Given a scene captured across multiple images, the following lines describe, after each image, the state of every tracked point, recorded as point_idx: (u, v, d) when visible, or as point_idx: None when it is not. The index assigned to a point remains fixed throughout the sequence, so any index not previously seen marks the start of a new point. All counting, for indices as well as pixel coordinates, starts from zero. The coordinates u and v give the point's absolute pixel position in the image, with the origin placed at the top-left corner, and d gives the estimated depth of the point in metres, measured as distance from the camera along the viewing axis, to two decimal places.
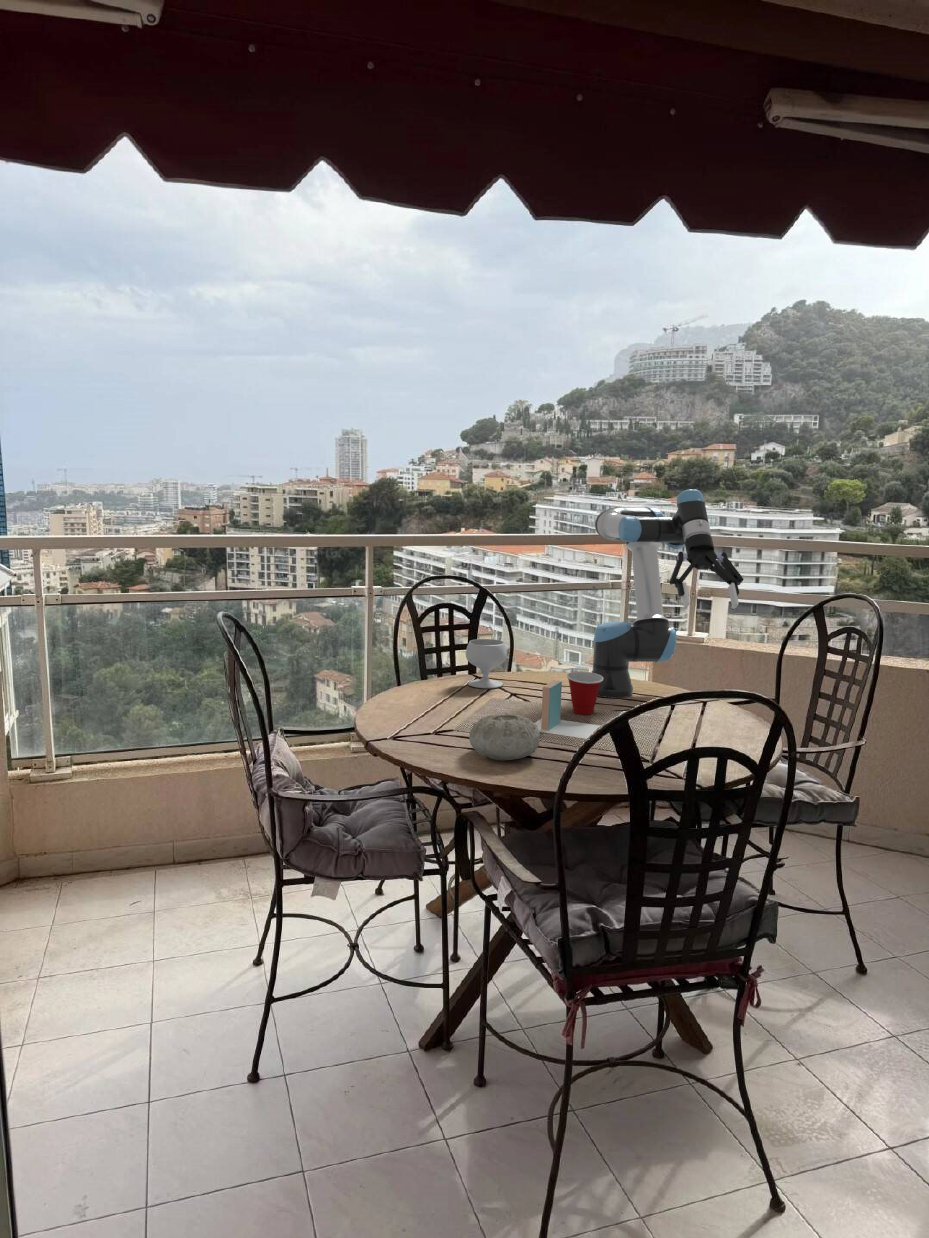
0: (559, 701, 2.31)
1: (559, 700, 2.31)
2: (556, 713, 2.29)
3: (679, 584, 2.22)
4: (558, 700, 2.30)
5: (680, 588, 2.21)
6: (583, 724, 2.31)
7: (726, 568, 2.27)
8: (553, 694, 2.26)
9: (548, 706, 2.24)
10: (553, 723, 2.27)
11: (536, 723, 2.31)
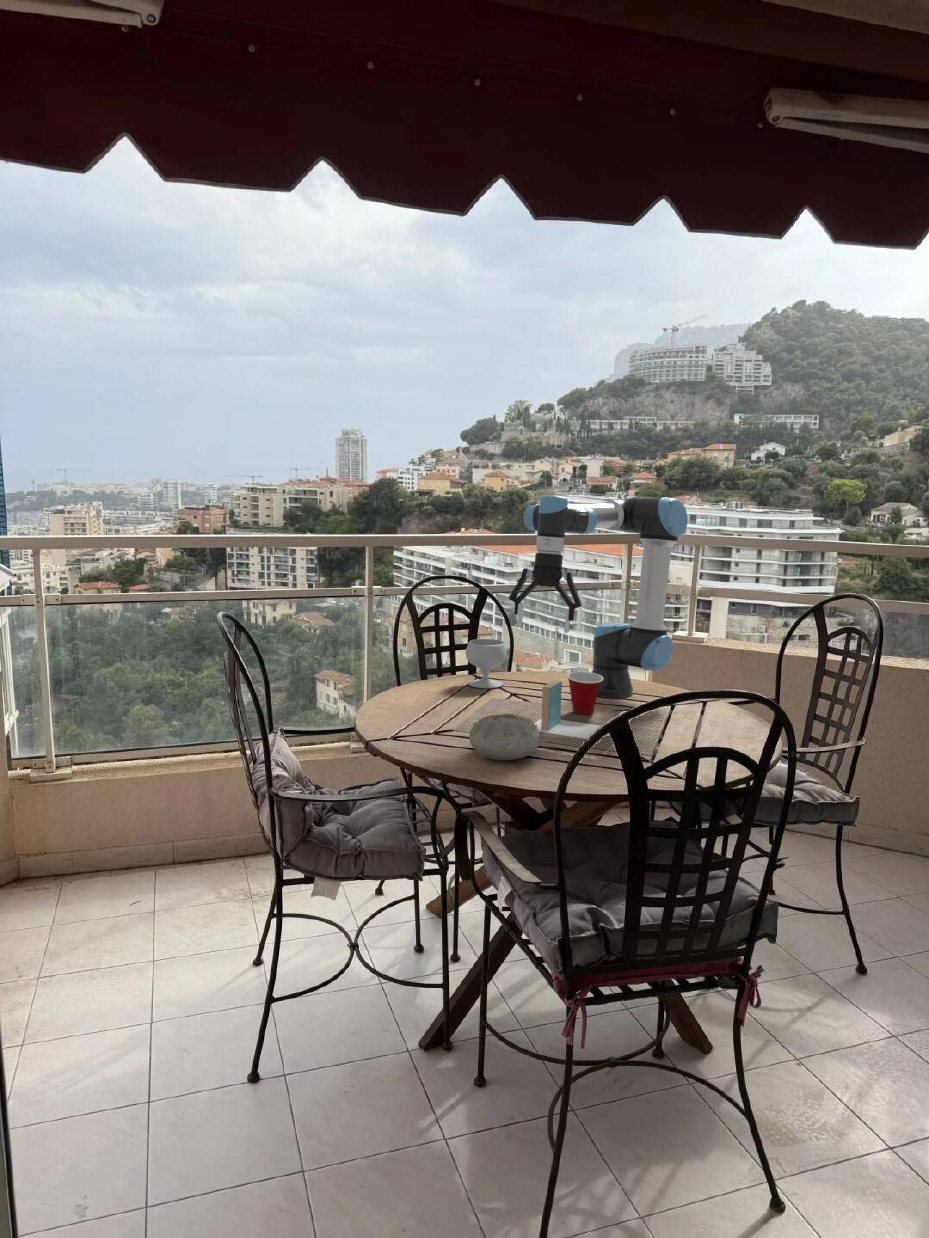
0: (559, 701, 2.31)
1: (559, 700, 2.31)
2: (556, 713, 2.29)
3: (515, 604, 2.28)
4: (558, 700, 2.30)
5: (515, 608, 2.28)
6: (583, 724, 2.31)
7: None
8: (553, 694, 2.26)
9: (548, 706, 2.24)
10: (553, 723, 2.27)
11: (536, 723, 2.31)
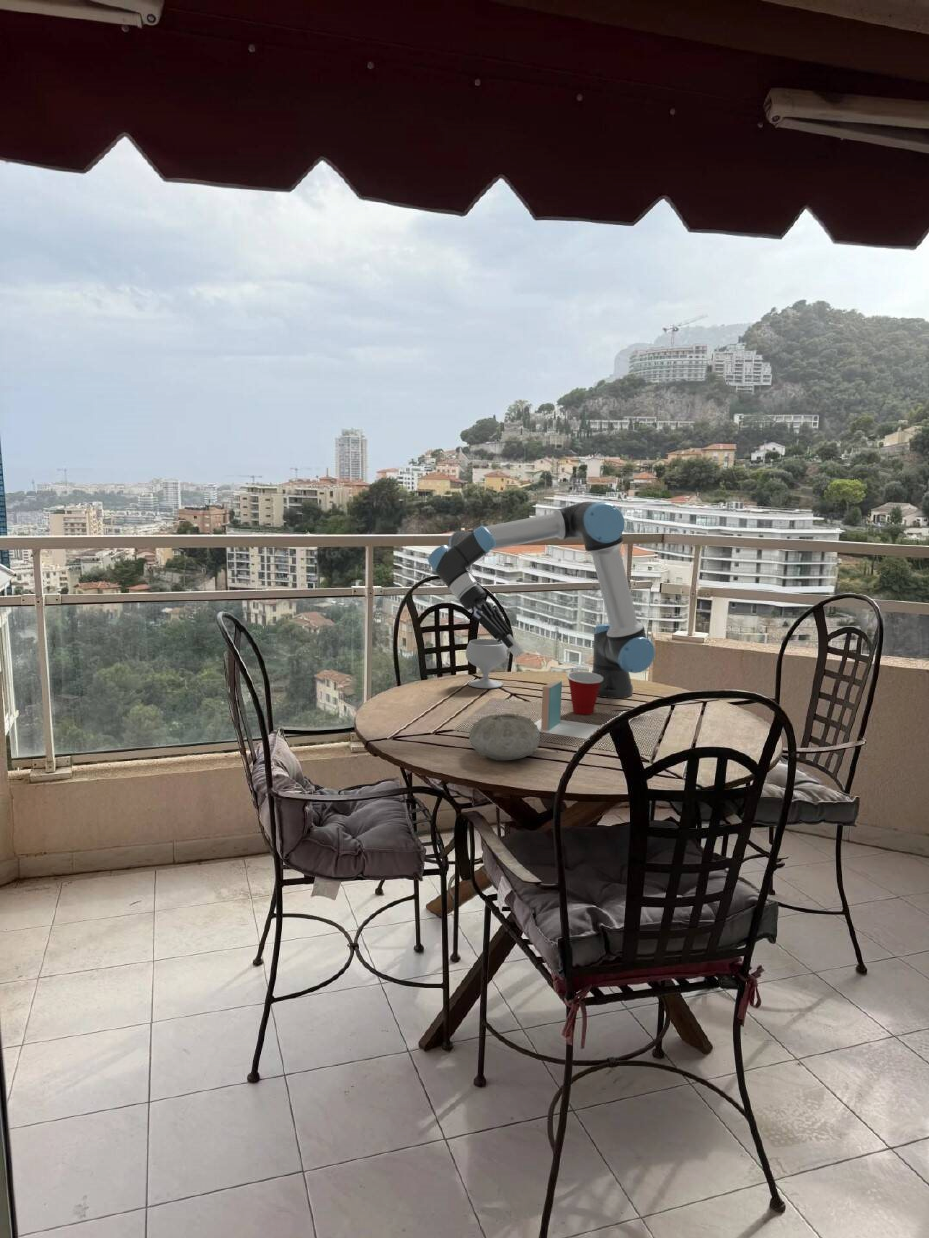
0: (559, 701, 2.31)
1: (559, 700, 2.31)
2: (556, 713, 2.29)
3: None
4: (558, 700, 2.30)
5: None
6: (583, 724, 2.31)
7: None
8: (553, 694, 2.26)
9: (548, 706, 2.24)
10: (553, 723, 2.27)
11: (536, 723, 2.31)
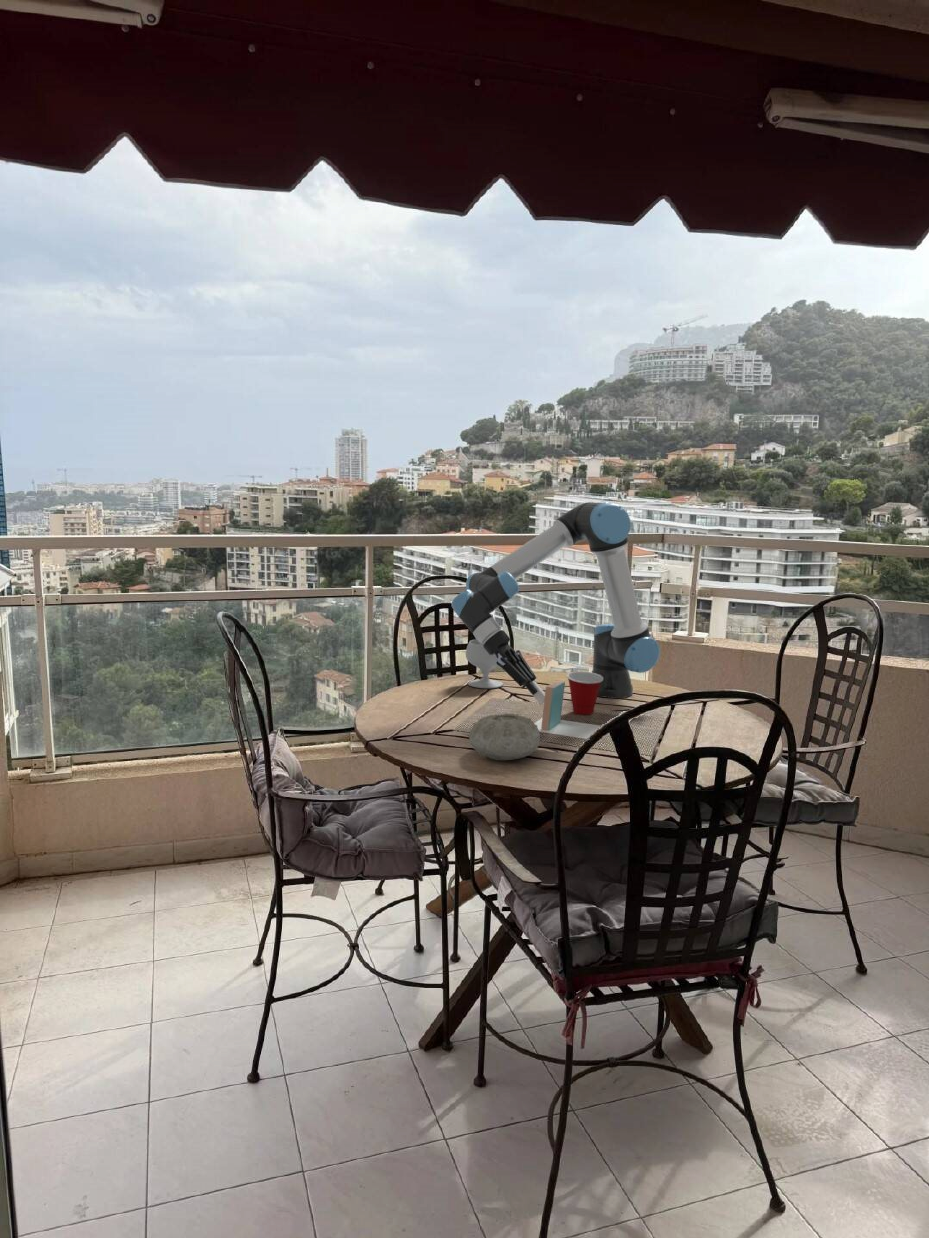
0: (561, 701, 2.30)
1: (561, 700, 2.31)
2: (557, 713, 2.29)
3: None
4: (560, 700, 2.30)
5: None
6: (583, 724, 2.31)
7: None
8: (556, 694, 2.25)
9: (550, 706, 2.24)
10: (553, 723, 2.27)
11: (536, 723, 2.31)
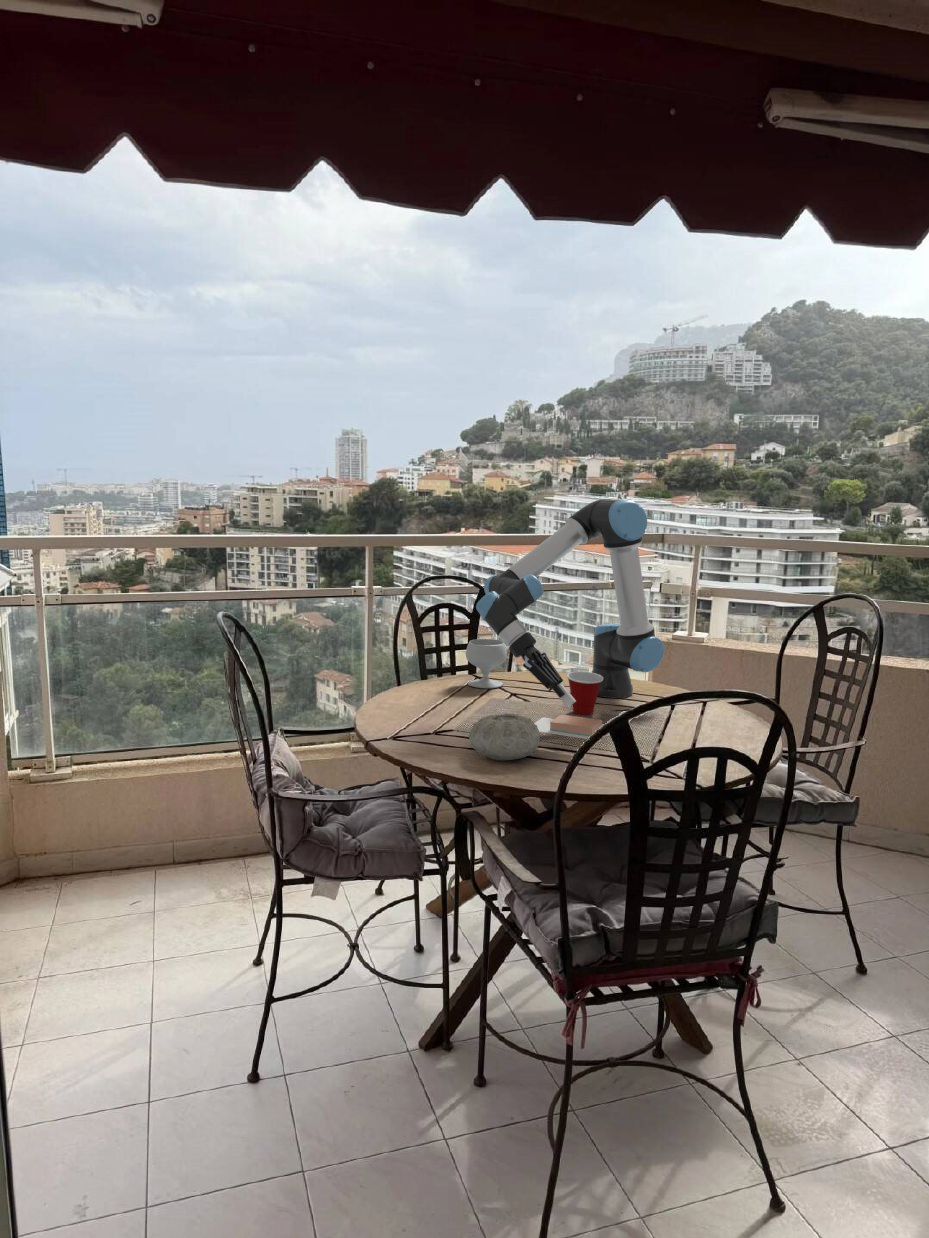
0: None
1: None
2: None
3: None
4: None
5: None
6: None
7: None
8: None
9: (573, 732, 2.22)
10: None
11: (536, 723, 2.31)
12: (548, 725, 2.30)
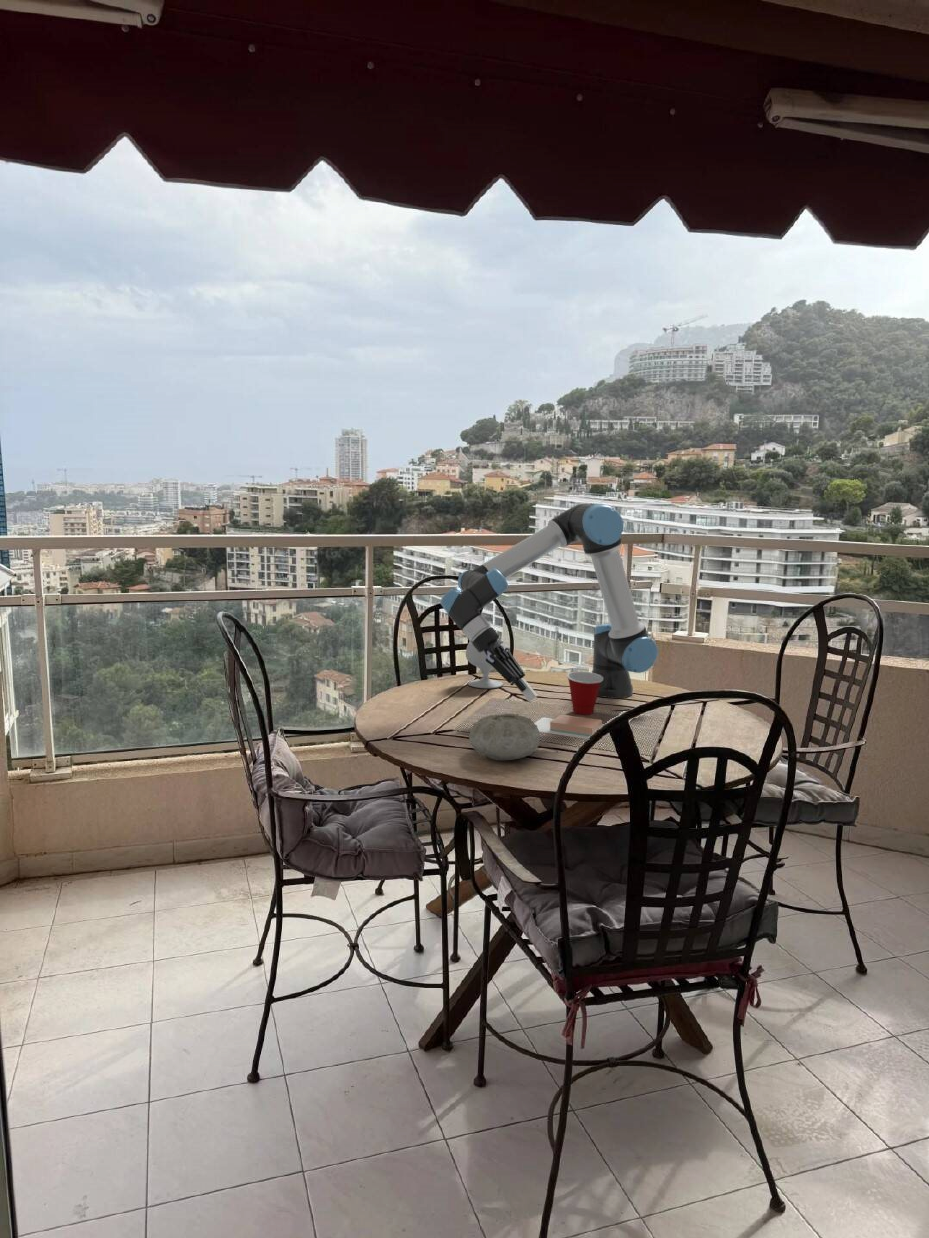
0: None
1: None
2: None
3: None
4: None
5: None
6: None
7: None
8: None
9: (573, 732, 2.22)
10: None
11: (536, 723, 2.31)
12: (548, 725, 2.30)
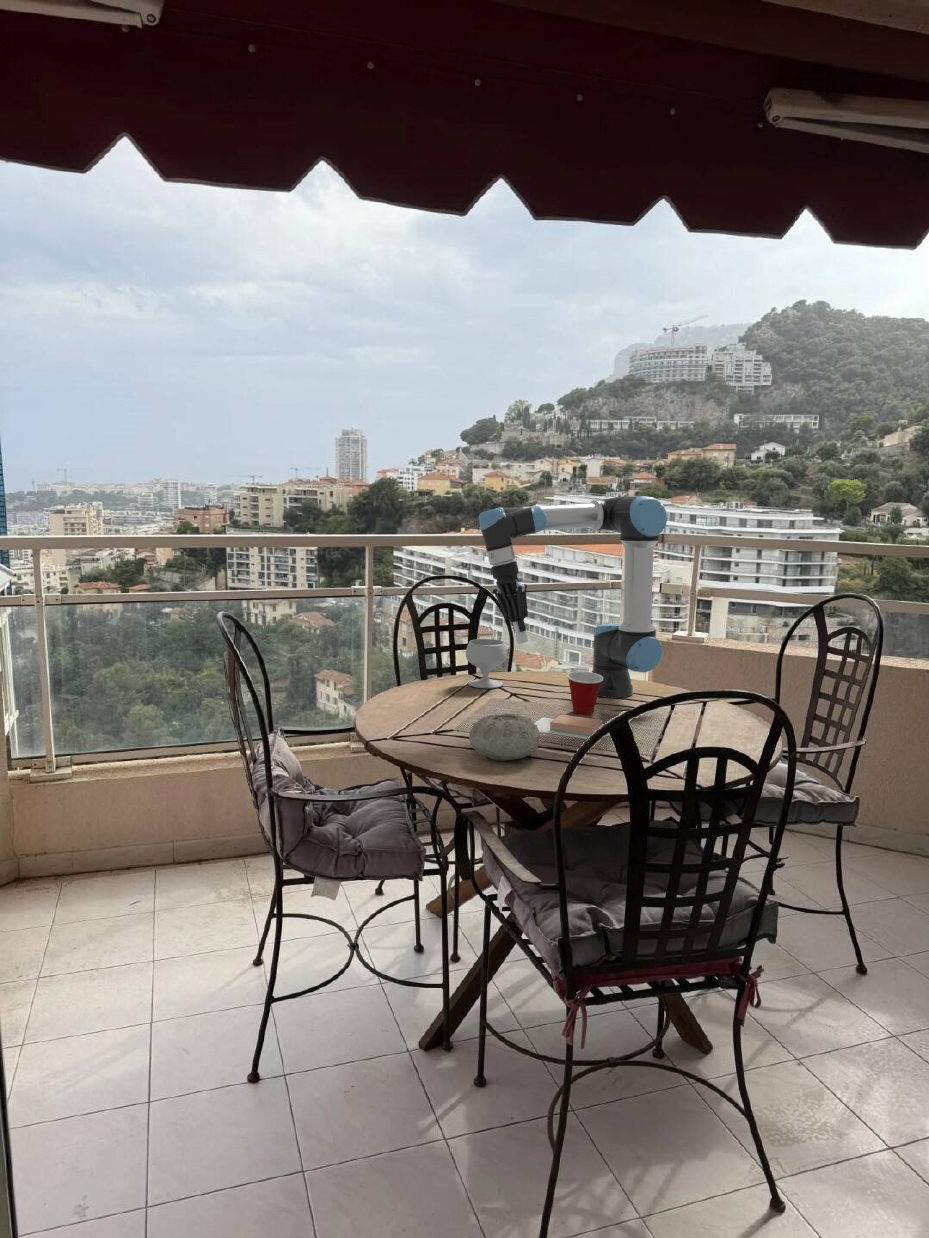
0: None
1: None
2: None
3: (512, 622, 2.35)
4: None
5: (513, 627, 2.35)
6: None
7: None
8: None
9: (573, 732, 2.22)
10: None
11: (536, 723, 2.31)
12: (548, 725, 2.30)
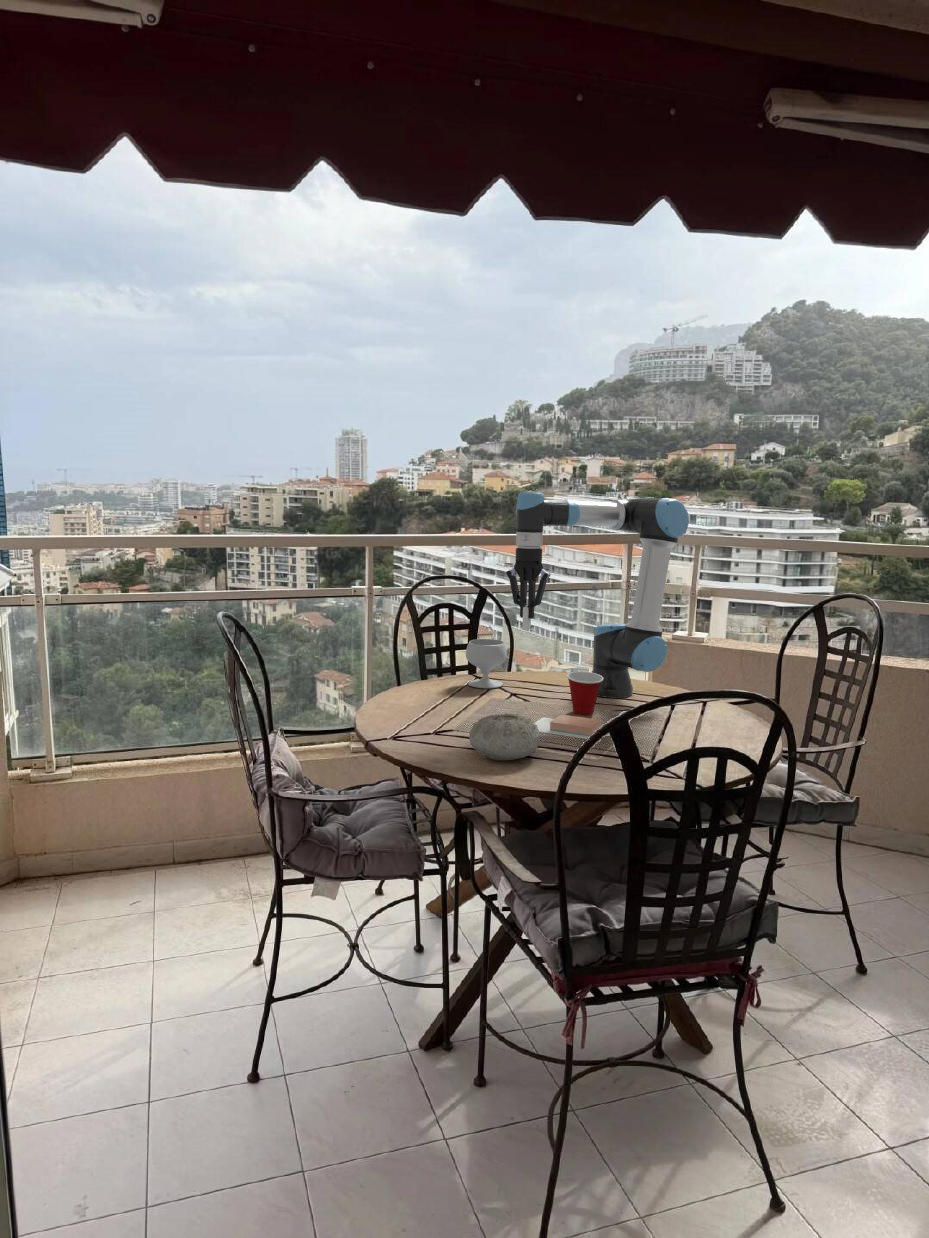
0: None
1: None
2: None
3: (520, 607, 2.34)
4: None
5: (521, 612, 2.34)
6: None
7: None
8: None
9: (573, 732, 2.22)
10: None
11: (536, 723, 2.31)
12: (548, 725, 2.30)
